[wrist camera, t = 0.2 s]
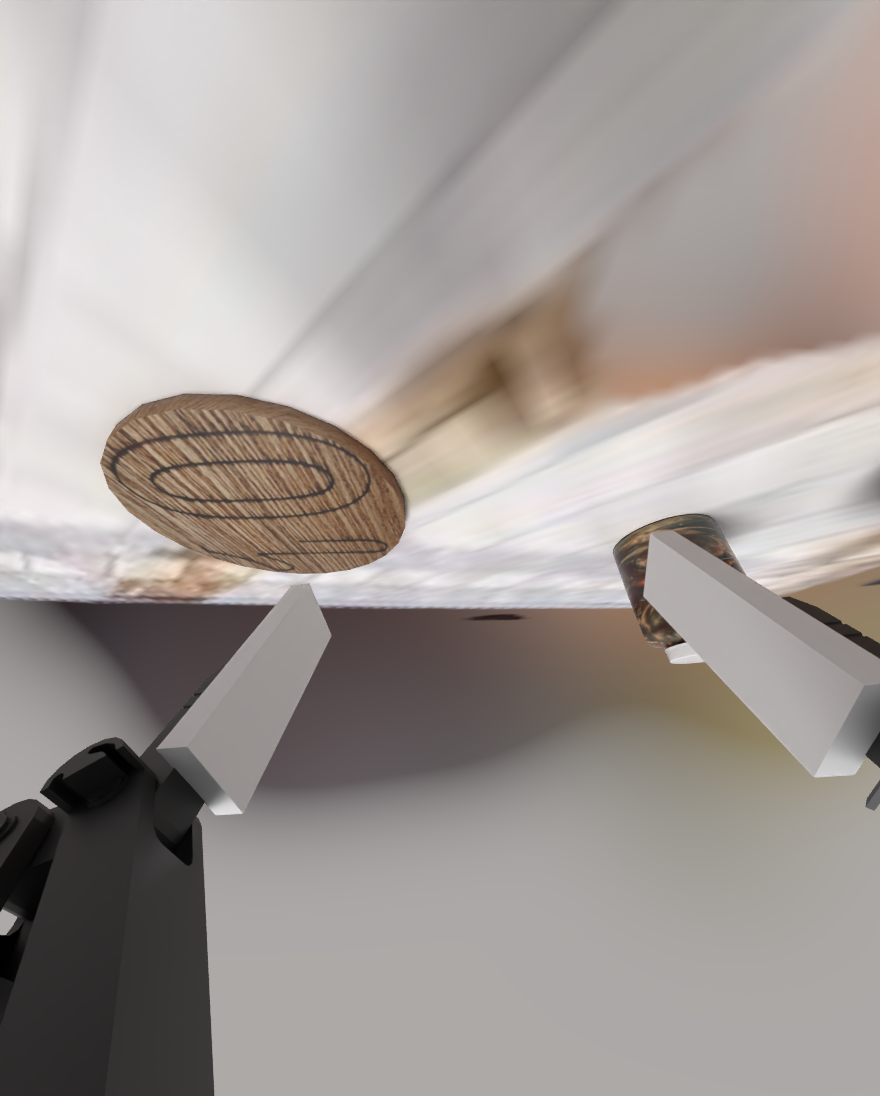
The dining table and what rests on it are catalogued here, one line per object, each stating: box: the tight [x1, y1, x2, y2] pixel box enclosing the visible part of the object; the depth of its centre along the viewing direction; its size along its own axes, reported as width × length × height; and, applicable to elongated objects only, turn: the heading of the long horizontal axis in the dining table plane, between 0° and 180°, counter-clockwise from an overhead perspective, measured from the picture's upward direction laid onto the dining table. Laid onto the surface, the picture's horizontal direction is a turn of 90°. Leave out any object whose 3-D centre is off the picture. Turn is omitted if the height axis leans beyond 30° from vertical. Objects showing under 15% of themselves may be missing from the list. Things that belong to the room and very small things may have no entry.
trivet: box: [100, 394, 405, 574], centre depth 32 cm, size 25×25×2 cm
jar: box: [613, 515, 746, 664], centre depth 39 cm, size 12×12×15 cm
